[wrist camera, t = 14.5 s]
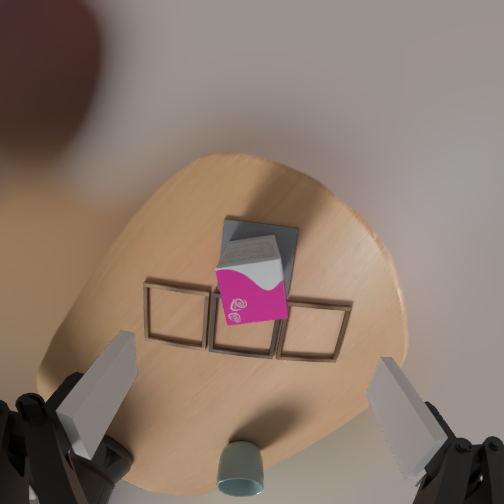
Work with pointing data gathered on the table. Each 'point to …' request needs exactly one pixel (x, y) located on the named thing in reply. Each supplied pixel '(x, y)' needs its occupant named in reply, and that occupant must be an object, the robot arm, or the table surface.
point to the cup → (240, 470)
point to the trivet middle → (237, 352)
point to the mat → (283, 235)
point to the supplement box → (252, 281)
